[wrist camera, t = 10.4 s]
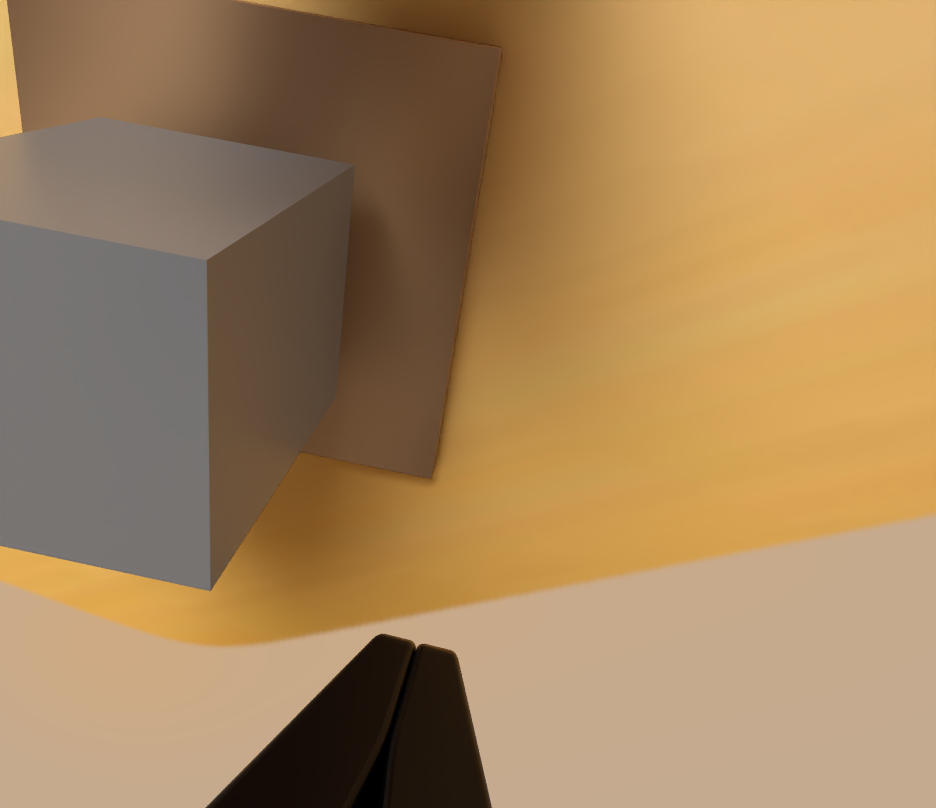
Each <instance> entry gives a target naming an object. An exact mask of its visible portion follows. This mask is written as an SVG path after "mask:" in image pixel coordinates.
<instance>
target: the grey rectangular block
mask: <svg viewBox="0 0 936 808" xmlns="http://www.w3.org/2000/svg"><path fill="white" fill-rule="evenodd" d="M354 167H355V165H354V164H348V163H343V162H338V161H332V160H327V159H322V158H316V157H311V156H306V155H300V154H295V153H290V152H284V151H279V150H274V149H268V148H263V147H258V146H252V145H247V144H242V143H236V142H231V141H226V140H220V139H215V138H210V137H204V136H199V135H194V134H188V133H183V132H178V131H172V130H167V129H162V128H156V127H151V126H146V125H140V124H135V123H130V122H124V121H119V120H114V119H108V118H103V117H98V118H94V119H89V120H84V121H79V122H74V123H69V124H64V125H59V126H54V127H49V128H44V129H39V130H35V131H30V132H25V133H20V134H15V135H10V136H5V137H0V546H4V547H8V548H13V549H18V550H22V551H27V552H32V553H36V554H41V555H45V556H50V557H55V558H59V559H64V560H69V561H73V562H78V563H83V564H87V565H92V566H96V567H101V568H106V569H110V570H115V571H120V572H124V573H129V574H134V575H138V576H143V577H147V578H152V579H157V580H161V581H166V582H171V583H175V584H180V585H184V586H189V587H194V588H198V589H203V590H208V591H211V590H212V588H213V586H214V585H215V583H216V582H217V580H218V579H219V577H220V576H221V574H222V572H223V571H224V569H225V568H226V566H227V565H228V563H229V562H230V560H231V559H232V557H233V555H234V554H235V552H236V551H237V549H238V548H239V546H240V545H241V543H242V542H243V540H244V538H245V537H246V535H247V534H248V532H249V531H250V529H251V528H252V526H253V524H254V523H255V521H256V520H257V518H258V517H259V515H260V514H261V512H262V511H263V509H264V507H265V506H266V504H267V503H268V501H269V500H270V498H271V497H272V495H273V493H274V492H275V490H276V489H277V487H278V486H279V484H280V483H281V481H282V480H283V478H284V476H285V475H286V473H287V472H288V470H289V469H290V467H291V466H292V464H293V463H294V461H295V459H296V458H297V456H298V455H299V453H300V452H301V450H302V449H303V447H304V445H305V444H306V442H307V441H308V439H309V438H310V436H311V435H312V433H313V432H314V430H315V428H316V427H317V425H318V424H319V422H320V421H321V419H322V418H323V416H324V415H325V413H326V411H327V410H328V408H329V407H330V405H331V404H332V402H333V401H334V399H335V397H336V391H337V379H338V366H339V354H340V341H341V329H342V316H343V304H344V292H345V279H346V267H347V254H348V242H349V229H350V217H351V204H352V192H353V180H354Z"/></svg>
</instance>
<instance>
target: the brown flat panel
mask: <svg viewBox="0 0 936 808" xmlns="http://www.w3.org/2000/svg"><path fill="white" fill-rule="evenodd" d="M7 5H8V13H9V21H10V30H11V38H12V46H13V55H14V63H15V71H16V80H17V88H18V96H19V105H20V113H21V121H22V130H23V133H25V132H30V131H35V130H39V129H44V128H49V127H54V126H59V125H64V124H69V123H74V122H79V121H84V120H89V119H94V118H98V117H103V118H108V119H114V120H119V121H124V122H130V123H135V124H140V125H146V126H151V127H156V128H162V129H167V130H172V131H178V132H183V133H188V134H194V135H199V136H204V137H210V138H215V139H220V140H226V141H231V142H236V143H242V144H247V145H252V146H258V147H263V148H268V149H274V150H279V151H284V152H290V153H295V154H300V155H306V156H311V157H316V158H322V159H327V160H332V161H338V162H343V163H348V164H354V165H355V167H354V180H353V192H352V204H351V217H350V229H349V242H348V254H347V267H346V279H345V292H344V304H343V316H342V329H341V341H340V354H339V366H338V379H337V391H336V397H335V399H334V401H333V402H332V404H331V405H330V407H329V408H328V410H327V411H326V413H325V415H324V416H323V418H322V419H321V421H320V422H319V424H318V425H317V427H316V428H315V430H314V432H313V433H312V435H311V436H310V438H309V439H308V441H307V442H306V444H305V445H304V447H303V449H302V450H301V452H303V453H308V454H312V455H317V456H322V457H327V458H332V459H336V460H341V461H346V462H351V463H356V464H360V465H365V466H370V467H375V468H380V469H385V470H389V471H394V472H399V473H404V474H409V475H413V476H418V477H423V478H428V479H431V478H432V474H433V471H434V468H435V464H436V457H437V451H438V445H439V439H440V433H441V427H442V420H443V414H444V408H445V402H446V396H447V390H448V383H449V377H450V371H451V365H452V359H453V353H454V346H455V340H456V334H457V328H458V322H459V316H460V309H461V303H462V297H463V291H464V285H465V279H466V272H467V266H468V260H469V254H470V248H471V242H472V235H473V229H474V223H475V217H476V211H477V205H478V198H479V192H480V186H481V180H482V174H483V168H484V161H485V155H486V149H487V143H488V137H489V131H490V124H491V118H492V112H493V106H494V100H495V94H496V87H497V81H498V75H499V69H500V63H501V57H502V50H503V48H500V47H494V46H488V45H483V44H477V43H472V42H466V41H461V40H455V39H450V38H444V37H439V36H433V35H428V34H422V33H417V32H411V31H406V30H400V29H395V28H389V27H384V26H378V25H373V24H367V23H362V22H356V21H351V20H345V19H339V18H334V17H328V16H323V15H317V14H312V13H306V12H301V11H295V10H290V9H284V8H279V7H273V6H268V5H262V4H257V3H251V2H246V1H240V0H7Z"/></svg>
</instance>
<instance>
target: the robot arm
mask: <svg viewBox="0 0 936 808" xmlns="http://www.w3.org/2000/svg"><path fill="white" fill-rule="evenodd" d="M206 808H492V807H491V802H490V798H489V793H488V789H487V784H486V780H485V776H484V771H483V767H482V762H481V758H480V754H479V749H478V745H477V740H476V736H475V731H474V727H473V723H472V718H471V714H470V710H469V705H468V701H467V696H466V692H465V687H464V683H463V679H462V674H461V670H460V665H459V661H458V658H457V655H456V654H455V653H454V652H453V651H451V650H448V649H444V648H440V647H436V646H431V645H428V644H421V645H419V646H418V647H417V649H416V646H415V644H414V643H413V641H411V640H407V639H403V638H399V637H395V636H391V635H387V634H380V635H377V636H376V637H374V638H373V639H372V640H371V641H370V642H369V643H368V644H367V645H366V646H365V647H364V648H363V649H362V650H361V651H360V652H359V653H358V654H357V655H356V656H355V657H354V658H353V659H352V660H351V661H350V662H349V663H348V664H347V665H346V666H345V667H344V668H343V669H342V670H341V671H340V672H339V673H338V674H337V675H336V676H335V678H333V679H332V681H331V682H330V683H329V684H328V685H327V686H326V687H325V688H324V689H323V690H322V691H321V692H320V693H319V694H318V695H317V696H316V697H315V698H314V699H313V700H312V701H311V702H310V703H309V704H308V705H307V706H306V707H305V708H304V709H303V710H302V711H301V712H300V713H299V714H298V715H297V716H296V717H295V718H294V719H293V720H292V721H291V722H290V723H289V724H288V725H287V726H286V727H285V728H284V729H283V730H282V731H281V732H280V733H279V734H278V735H277V736H276V737H275V738H274V739H273V740H272V741H271V742H270V743H269V744H268V745H267V746H266V747H265V748H264V749H263V750H262V751H261V752H260V753H259V754H258V755H257V756H256V757H255V758H254V759H253V760H252V761H251V762H250V763H249V764H248V765H247V766H246V767H245V768H244V769H243V770H242V771H241V772H240V773H239V775H237V776H236V777H235V778H234V780H232V782H231V783H230V784H229V785H228V786H227V787H226V788H225V789H224V790H223V791H222V792H221V793H220V794H219V795H218V796H217V797H216V798H215V799H214V800H213V801H212V802H211V803H210V804H209V805H208V806H207V807H206Z"/></svg>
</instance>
